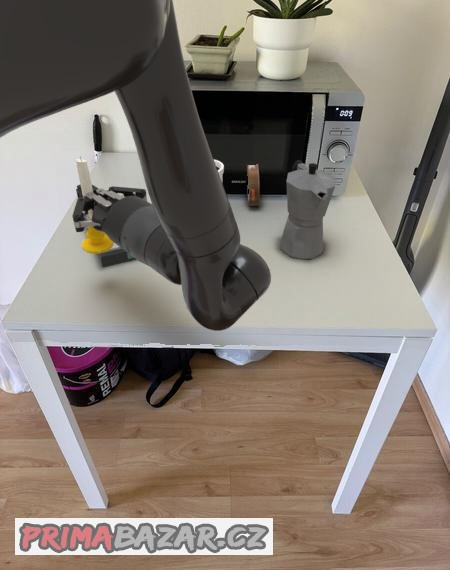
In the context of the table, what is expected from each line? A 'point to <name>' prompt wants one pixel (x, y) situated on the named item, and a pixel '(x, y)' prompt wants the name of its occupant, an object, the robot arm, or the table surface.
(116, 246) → the kitchen scale
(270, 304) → the table surface
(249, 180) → the tin
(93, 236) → the candle
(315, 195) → the coffeepot
